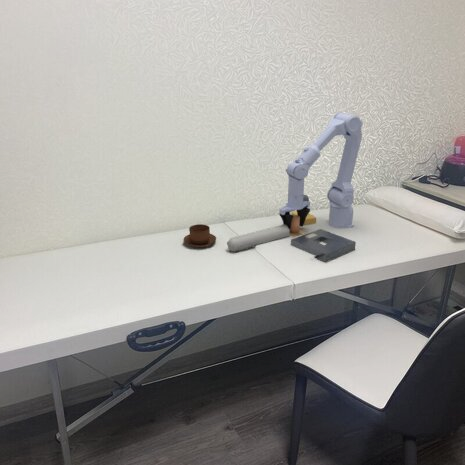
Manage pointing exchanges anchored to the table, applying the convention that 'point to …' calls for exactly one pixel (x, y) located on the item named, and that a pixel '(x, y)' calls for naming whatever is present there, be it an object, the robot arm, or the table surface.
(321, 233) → the grey square slab
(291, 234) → the tan square tile
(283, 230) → the tube
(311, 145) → the robot arm
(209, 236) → the cup and saucer
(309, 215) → the rubber stamp
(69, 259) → the table surface
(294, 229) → the peg
